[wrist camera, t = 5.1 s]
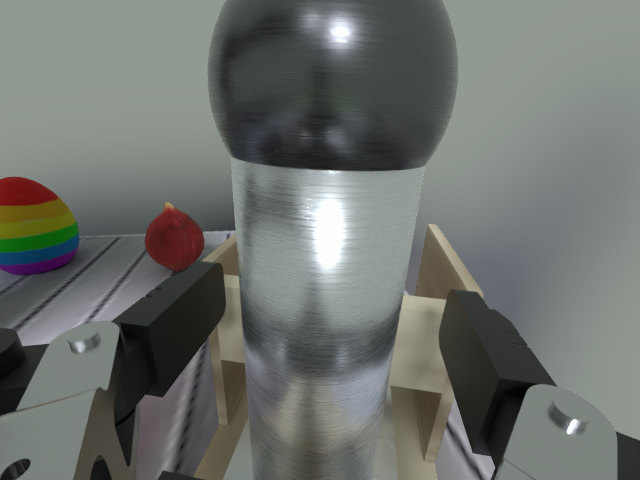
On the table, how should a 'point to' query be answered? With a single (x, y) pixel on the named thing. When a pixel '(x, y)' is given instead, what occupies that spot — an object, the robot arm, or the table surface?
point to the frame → (405, 375)
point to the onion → (174, 239)
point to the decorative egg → (34, 228)
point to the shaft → (326, 215)
